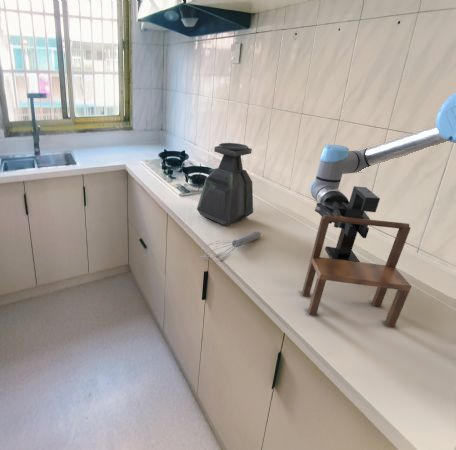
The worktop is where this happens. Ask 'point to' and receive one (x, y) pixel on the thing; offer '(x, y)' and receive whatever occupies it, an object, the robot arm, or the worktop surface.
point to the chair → (359, 269)
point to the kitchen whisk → (235, 243)
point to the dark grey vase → (227, 187)
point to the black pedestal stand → (357, 205)
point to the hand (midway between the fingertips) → (357, 232)
